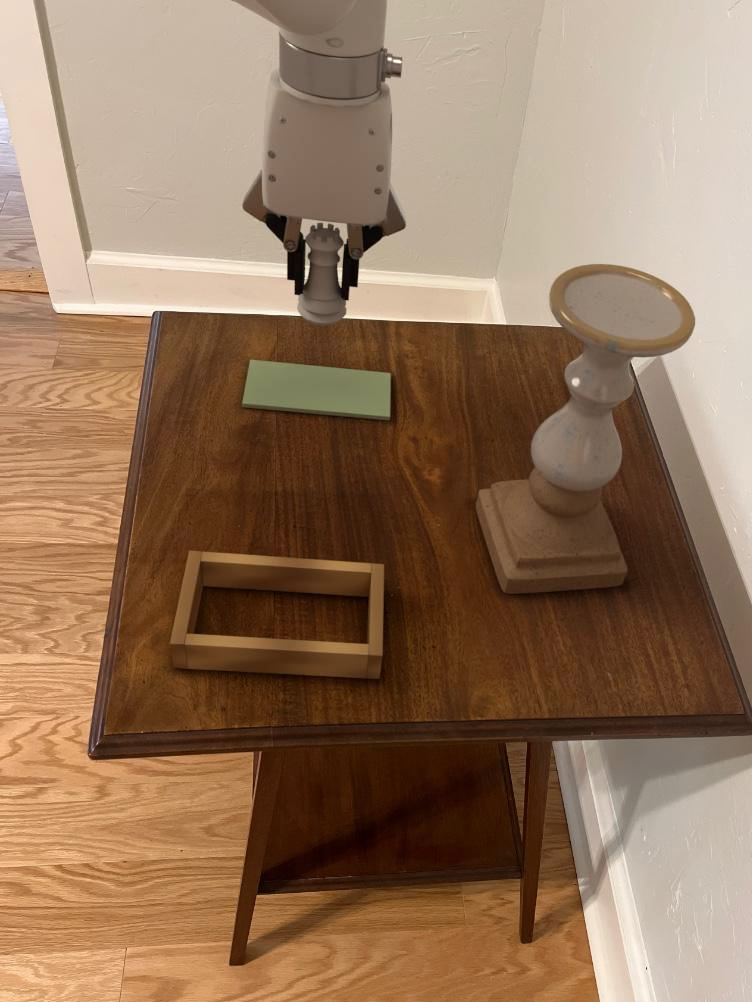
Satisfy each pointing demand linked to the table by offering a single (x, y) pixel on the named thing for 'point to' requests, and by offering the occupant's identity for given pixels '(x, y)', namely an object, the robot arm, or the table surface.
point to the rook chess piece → (322, 278)
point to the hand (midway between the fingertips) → (322, 287)
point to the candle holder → (581, 435)
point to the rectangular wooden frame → (278, 652)
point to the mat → (317, 390)
